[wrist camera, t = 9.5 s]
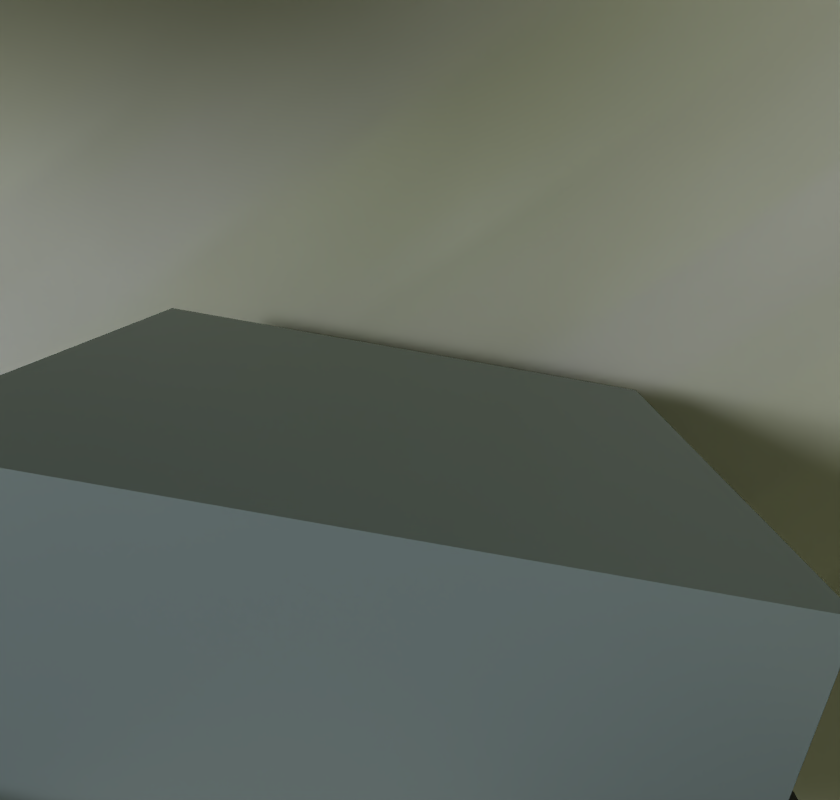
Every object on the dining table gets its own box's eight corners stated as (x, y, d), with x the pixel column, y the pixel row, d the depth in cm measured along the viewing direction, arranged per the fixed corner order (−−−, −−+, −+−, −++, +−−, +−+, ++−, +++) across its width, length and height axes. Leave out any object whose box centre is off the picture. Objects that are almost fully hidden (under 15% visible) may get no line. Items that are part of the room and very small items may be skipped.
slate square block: (172, 307, 15) (-163, 438, 7) (635, 390, 16) (860, 618, 7) (141, 701, 18) (-124, 1136, 10) (535, 768, 18) (610, 1257, 10)
